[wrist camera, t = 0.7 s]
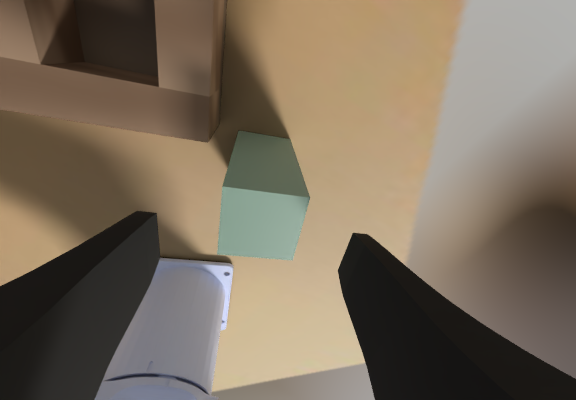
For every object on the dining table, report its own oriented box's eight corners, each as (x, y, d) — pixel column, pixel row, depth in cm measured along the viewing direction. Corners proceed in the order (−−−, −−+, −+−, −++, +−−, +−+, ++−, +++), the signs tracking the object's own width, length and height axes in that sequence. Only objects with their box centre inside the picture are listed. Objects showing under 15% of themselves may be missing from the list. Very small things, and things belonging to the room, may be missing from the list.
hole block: (219, 123, 16) (207, 142, 12) (60, 95, 14) (-3, 109, 11) (231, -70, 12) (218, -122, 8) (4, -141, 10) (-132, -243, 7)
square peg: (281, 184, 19) (292, 260, 12) (233, 177, 18) (217, 254, 11) (290, 139, 17) (310, 197, 10) (238, 130, 16) (222, 186, 9)
